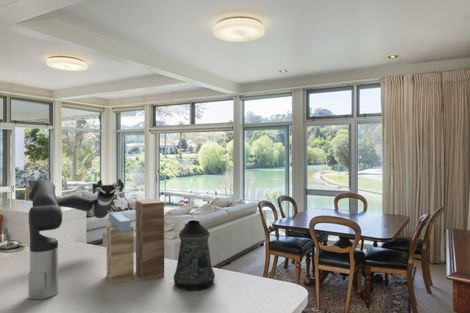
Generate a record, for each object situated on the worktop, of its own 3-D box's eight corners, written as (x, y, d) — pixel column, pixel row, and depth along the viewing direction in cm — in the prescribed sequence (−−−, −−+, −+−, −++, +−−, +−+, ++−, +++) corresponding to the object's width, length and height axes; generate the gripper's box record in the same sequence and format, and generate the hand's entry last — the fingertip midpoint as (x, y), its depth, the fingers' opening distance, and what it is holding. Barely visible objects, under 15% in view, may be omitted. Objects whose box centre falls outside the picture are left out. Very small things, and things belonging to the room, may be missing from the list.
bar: (130, 230, 135) (130, 220, 134) (120, 231, 132) (120, 221, 132) (117, 220, 155) (117, 211, 155) (108, 221, 153) (108, 212, 153)
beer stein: (194, 295, 125) (194, 228, 125) (160, 283, 137) (160, 222, 136) (223, 281, 138) (222, 221, 138) (189, 271, 150) (189, 215, 150)
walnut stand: (164, 276, 144) (164, 202, 144) (143, 280, 139) (143, 203, 139) (155, 268, 154) (155, 198, 154) (135, 272, 150) (135, 200, 149)
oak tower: (133, 279, 141) (133, 226, 141) (111, 283, 136) (111, 229, 136) (128, 271, 150) (127, 222, 149) (106, 275, 145) (106, 225, 145)
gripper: (89, 189, 169) (93, 174, 157) (118, 188, 177) (124, 173, 165) (90, 203, 166) (95, 189, 154) (120, 201, 173) (126, 187, 161)
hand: (110, 181), depth 159 cm, fingers open, 8 cm apart
